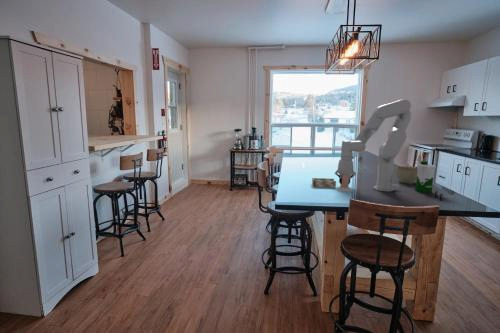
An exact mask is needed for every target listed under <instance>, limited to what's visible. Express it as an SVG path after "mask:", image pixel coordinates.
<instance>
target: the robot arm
mask: <svg viewBox="0 0 500 333" xmlns="http://www.w3.org/2000/svg"><path fill="white" fill-rule="evenodd" d="M411 107H412V104H411V101H409V100H408V99H405V98H402V99H398V100H396V101H393V102H390V103H386V104H383V105H379V106H377V107H376V108H375V109H374V111H373V113H372V114H371V116H370V117H369V119H368V121H367V122H366V123H365V124H364V126H363V128H362V129H361V131H360V132H359V134H358V135H357V136H356V138H355V139H354V141H353V140H349V139H347V140H346V139H344V140H342V142H341V149H340V150H341V152H340V159H339V160H338V163H337V170H336V171H335V172H334V175H336V176H337V177H338V179H339V180H338V183H339V184H342V174H345V175H349V184H351V180H352V178H354V176H356V175H357V173H356V172H355V170H354V159H355V156H353V152H356V153H362V152H364V151H365V150H366V148H367V146H366V144H367V142H368V141H369V139H370V138H371V137H372V136H373V135H374V134H376V133H377V132H378V130H380V127H381V126H382V125H383V123H384V122H385V120H386V119H388V118H393V117H395V119H394V121H393V123H392V125H391V128H390V130H388V133H387V141H386V142H384V143H382V144H381V145H380V146H379V148H378V162H377V163H378V164H377V174H376V175H377V176H376V182H375V183H376V184H375V185H374V186H373V189H374V190H375V191H380V192H394V191H395V188H400V184H396V183H393V176H394V168H395V158H397V156H398V155H399V153H400V152H401V150H402V148H403V146H404V144H405V142H406V139H407V132H406V130H407V129H408V126H409V124H410V122H411V117H412V114H411V113H412V112H411Z"/></svg>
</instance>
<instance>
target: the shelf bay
mask: <svg viewBox="0 0 500 333" xmlns="http://www.w3.org/2000/svg"><path fill="white" fill-rule="evenodd" d="M311 185H312V186H313V187H314V188H330V189H331V188H332V189H334V188H336V187H337V181H336V180H335V178H330V177H329V178H327V177H326V178H324V177H312V181H311ZM336 189H337V188H336Z"/></svg>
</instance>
